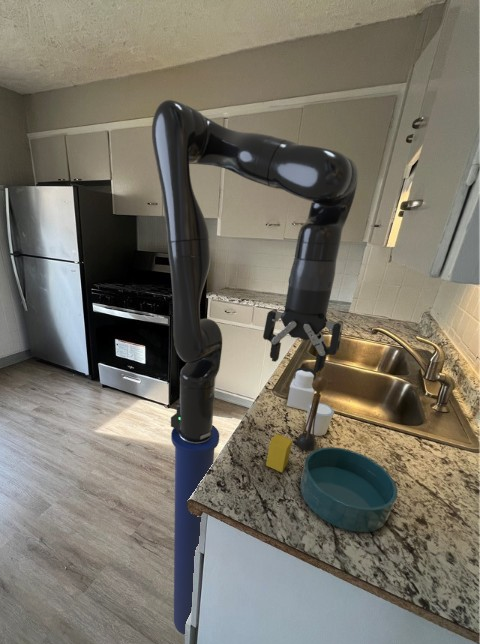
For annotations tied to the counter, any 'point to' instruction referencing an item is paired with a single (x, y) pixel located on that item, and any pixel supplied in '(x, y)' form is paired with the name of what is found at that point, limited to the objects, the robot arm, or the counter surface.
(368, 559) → the counter surface
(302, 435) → the wooden tabletop sculpture
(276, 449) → the sponge
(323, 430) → the white short cylinder
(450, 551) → the counter surface
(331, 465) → the bowl
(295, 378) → the medicine bottle
